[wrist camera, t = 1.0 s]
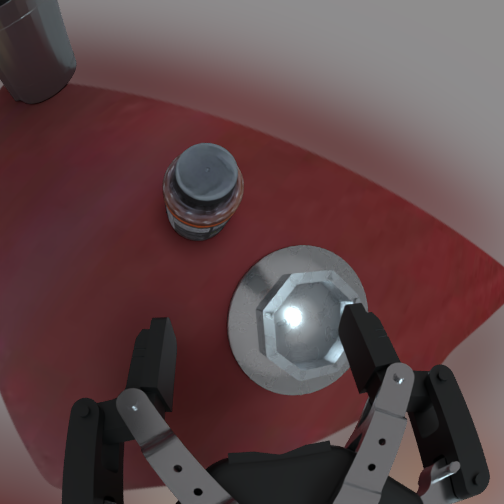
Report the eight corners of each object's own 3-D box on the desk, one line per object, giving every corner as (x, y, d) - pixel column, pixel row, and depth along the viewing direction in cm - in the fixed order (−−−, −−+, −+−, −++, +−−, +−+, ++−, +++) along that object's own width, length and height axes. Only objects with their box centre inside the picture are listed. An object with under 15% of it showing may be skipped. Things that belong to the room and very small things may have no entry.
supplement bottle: (188, 174, 28) (194, 113, 17) (237, 203, 29) (270, 157, 18) (156, 223, 27) (141, 184, 16) (208, 253, 28) (225, 233, 17)
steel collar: (235, 404, 26) (242, 418, 23) (220, 251, 28) (225, 246, 25) (364, 373, 30) (381, 380, 27) (357, 242, 32) (375, 238, 28)
